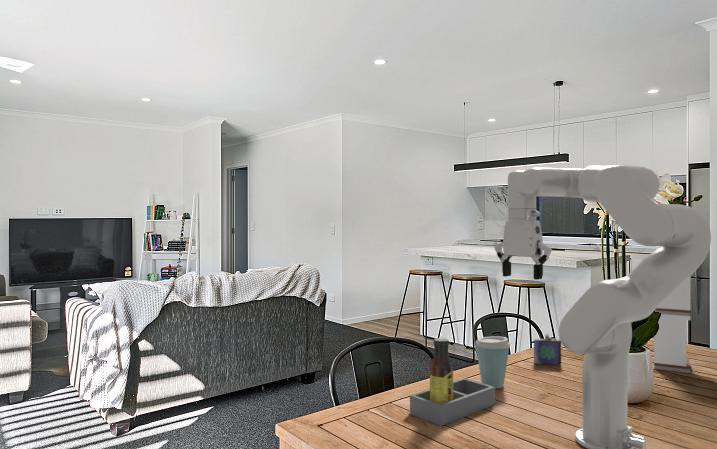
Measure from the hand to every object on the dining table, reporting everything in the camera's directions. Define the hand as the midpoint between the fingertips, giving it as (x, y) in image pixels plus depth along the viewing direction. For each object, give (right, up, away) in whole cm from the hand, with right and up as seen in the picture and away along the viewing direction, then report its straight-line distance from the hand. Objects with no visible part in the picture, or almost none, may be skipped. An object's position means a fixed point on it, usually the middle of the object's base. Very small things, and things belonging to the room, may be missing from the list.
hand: (522, 277), depth 143 cm
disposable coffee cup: (-3, -36, +20) cm, 41 cm away
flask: (+22, -36, +43) cm, 60 cm away
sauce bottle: (-23, -36, -4) cm, 43 cm away
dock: (-19, -36, 0) cm, 41 cm away
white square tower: (+65, -36, +39) cm, 83 cm away
